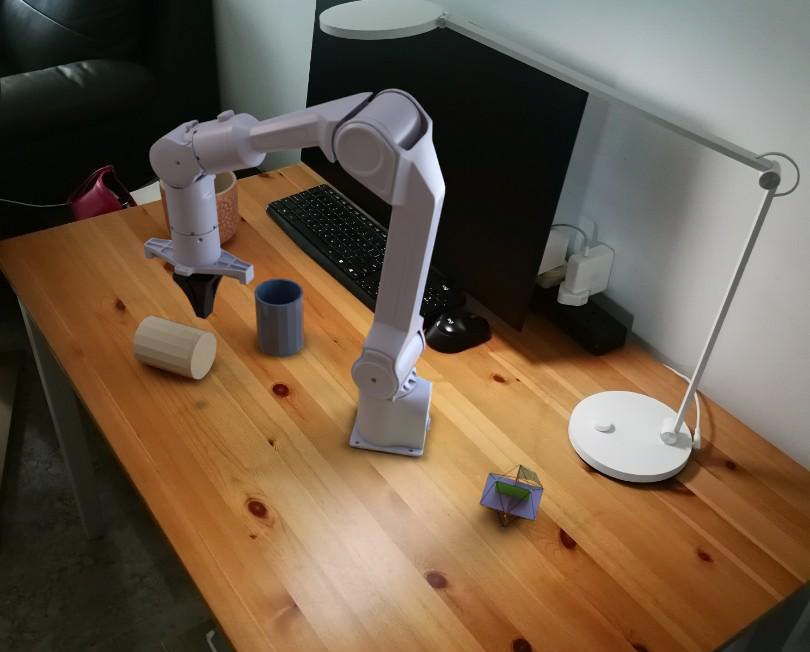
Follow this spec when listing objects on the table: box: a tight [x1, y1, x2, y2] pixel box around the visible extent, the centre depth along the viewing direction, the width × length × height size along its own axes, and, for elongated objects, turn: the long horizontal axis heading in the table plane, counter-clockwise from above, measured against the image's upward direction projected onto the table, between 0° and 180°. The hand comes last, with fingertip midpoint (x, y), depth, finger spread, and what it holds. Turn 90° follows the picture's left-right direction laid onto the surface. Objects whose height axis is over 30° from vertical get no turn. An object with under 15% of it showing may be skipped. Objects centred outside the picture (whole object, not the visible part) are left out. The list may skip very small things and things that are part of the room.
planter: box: [158, 171, 239, 246], centre depth 141 cm, size 12×12×11 cm
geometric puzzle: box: [478, 463, 545, 529], centre depth 100 cm, size 7×7×8 cm
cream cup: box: [132, 314, 218, 380], centre depth 117 cm, size 7×7×9 cm
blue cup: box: [253, 278, 305, 358], centre depth 122 cm, size 7×7×9 cm
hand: (204, 314), depth 112 cm, fingers closed
